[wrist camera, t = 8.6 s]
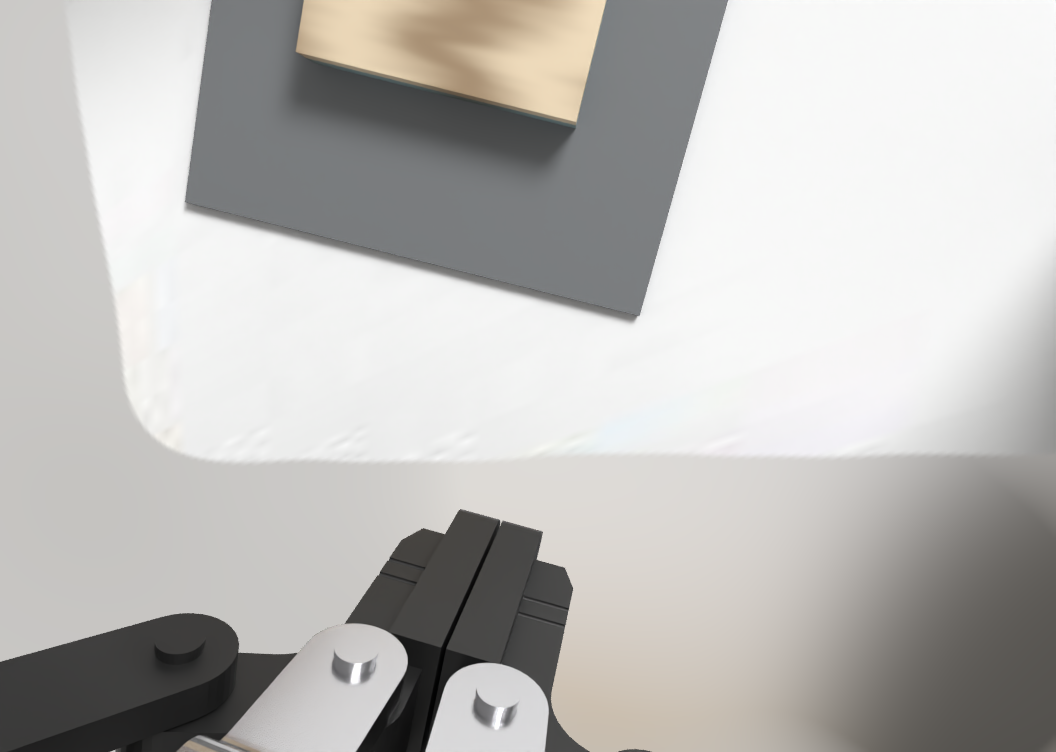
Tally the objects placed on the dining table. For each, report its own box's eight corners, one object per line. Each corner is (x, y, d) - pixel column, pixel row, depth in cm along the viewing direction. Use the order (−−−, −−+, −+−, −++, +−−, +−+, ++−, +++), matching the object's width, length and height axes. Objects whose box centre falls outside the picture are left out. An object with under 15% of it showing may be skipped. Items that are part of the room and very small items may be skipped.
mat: (769, -152, 30) (771, -157, 30) (638, 314, 35) (639, 316, 34) (254, -280, 30) (249, -286, 30) (189, 202, 35) (185, 202, 34)
